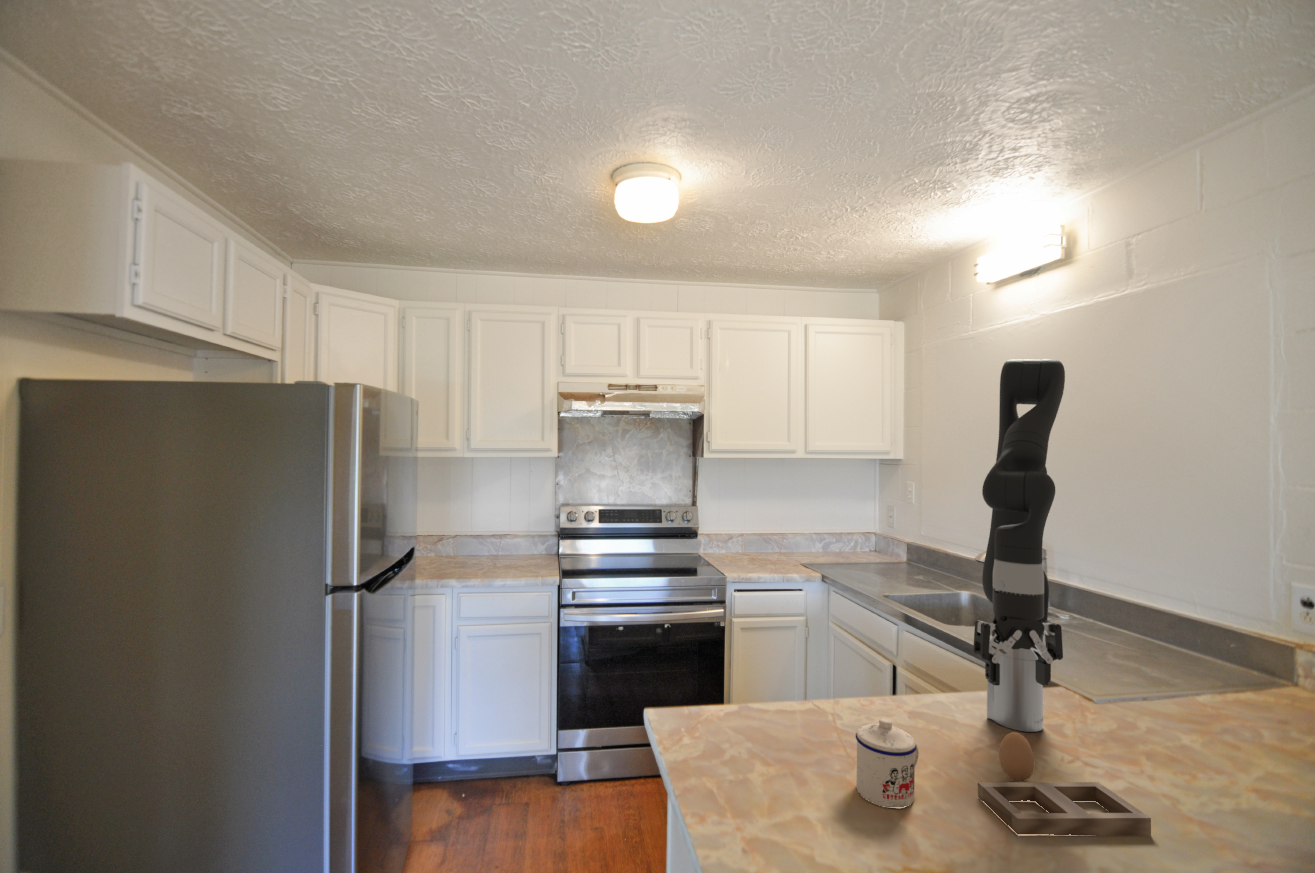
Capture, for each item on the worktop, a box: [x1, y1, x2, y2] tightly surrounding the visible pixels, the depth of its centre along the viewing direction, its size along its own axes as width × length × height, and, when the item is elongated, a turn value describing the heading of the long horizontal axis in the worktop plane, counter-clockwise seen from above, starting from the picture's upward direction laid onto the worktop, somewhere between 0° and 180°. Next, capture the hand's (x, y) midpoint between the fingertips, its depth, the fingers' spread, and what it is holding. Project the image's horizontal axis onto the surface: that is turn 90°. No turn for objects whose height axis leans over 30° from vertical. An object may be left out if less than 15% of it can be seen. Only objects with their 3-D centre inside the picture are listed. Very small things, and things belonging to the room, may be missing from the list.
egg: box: [998, 731, 1035, 782], centre depth 99 cm, size 5×5×8 cm
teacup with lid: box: [855, 717, 919, 807], centre depth 95 cm, size 12×9×12 cm
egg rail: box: [977, 781, 1152, 837], centre depth 89 cm, size 20×10×2 cm, turn 93°
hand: (1017, 683), depth 100 cm, fingers open, 8 cm apart
